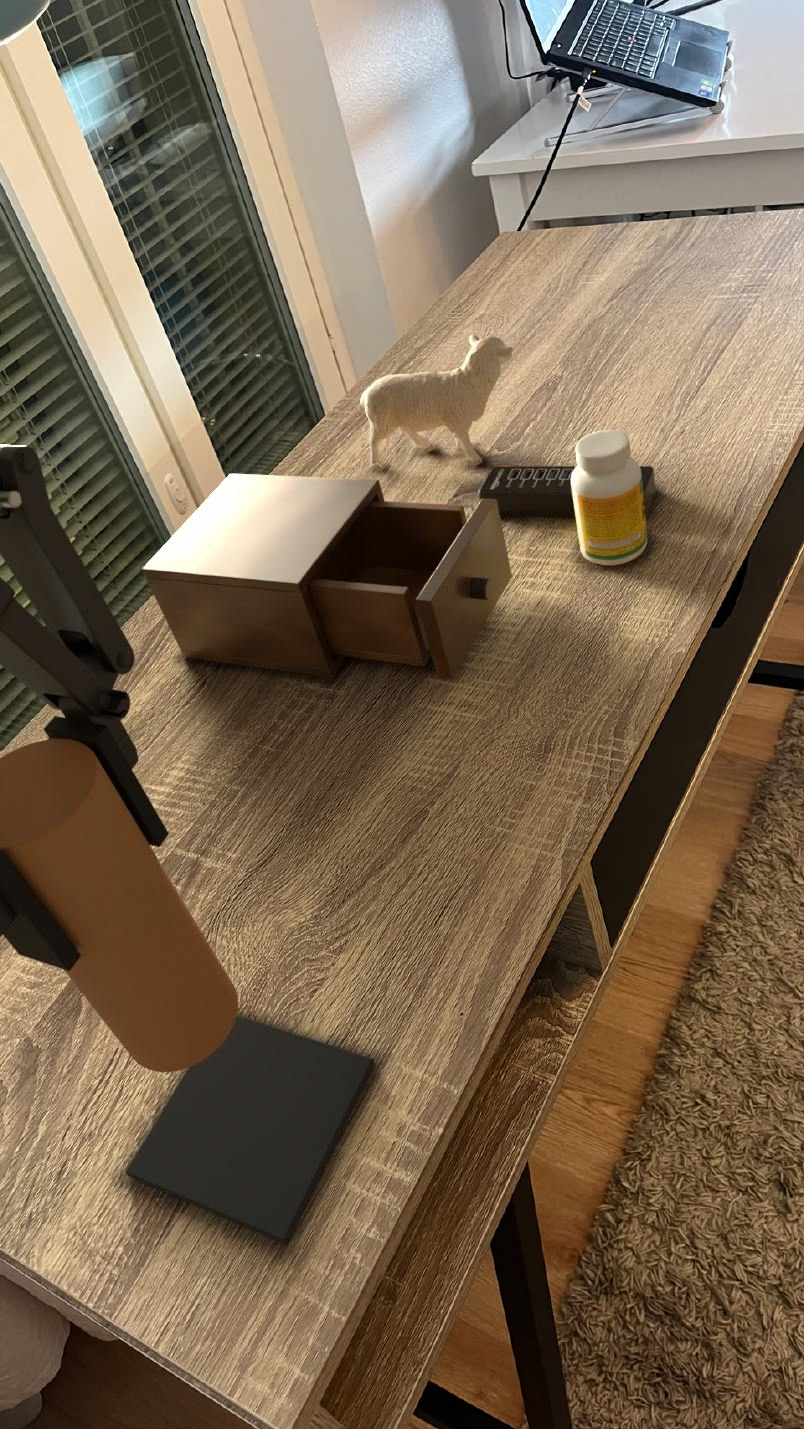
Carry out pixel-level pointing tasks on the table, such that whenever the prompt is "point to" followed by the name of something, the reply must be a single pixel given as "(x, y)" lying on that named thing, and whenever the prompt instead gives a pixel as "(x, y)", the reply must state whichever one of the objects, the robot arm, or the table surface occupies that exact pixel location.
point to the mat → (253, 1126)
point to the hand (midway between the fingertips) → (96, 891)
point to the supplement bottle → (608, 499)
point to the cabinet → (256, 570)
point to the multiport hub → (542, 490)
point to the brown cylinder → (113, 906)
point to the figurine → (436, 399)
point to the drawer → (412, 583)
